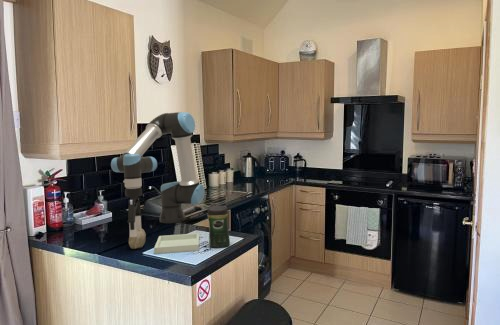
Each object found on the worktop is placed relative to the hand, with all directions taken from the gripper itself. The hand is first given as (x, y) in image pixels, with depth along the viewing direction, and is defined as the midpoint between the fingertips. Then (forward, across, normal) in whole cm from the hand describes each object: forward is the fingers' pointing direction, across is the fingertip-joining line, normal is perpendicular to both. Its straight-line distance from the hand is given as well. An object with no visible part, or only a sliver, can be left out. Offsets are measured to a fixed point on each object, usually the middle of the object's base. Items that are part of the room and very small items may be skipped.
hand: (135, 232), depth 178 cm
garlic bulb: (+7, 0, 0) cm, 7 cm away
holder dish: (+7, +2, +19) cm, 20 cm away
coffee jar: (+7, +6, +38) cm, 39 cm away
